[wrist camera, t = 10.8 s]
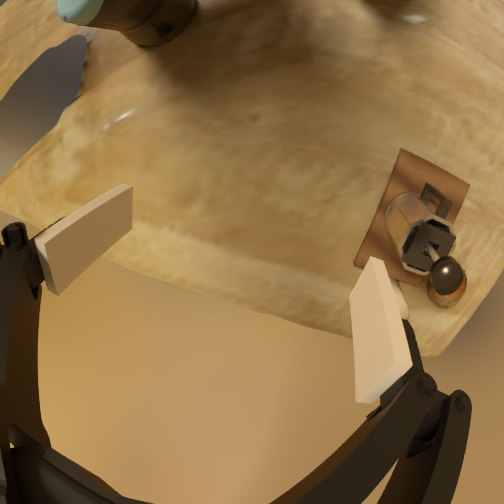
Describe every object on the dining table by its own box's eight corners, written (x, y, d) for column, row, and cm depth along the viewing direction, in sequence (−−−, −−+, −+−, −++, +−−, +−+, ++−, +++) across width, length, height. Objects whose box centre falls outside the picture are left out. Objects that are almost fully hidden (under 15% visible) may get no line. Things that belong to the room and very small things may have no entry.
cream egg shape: (374, 268, 51) (382, 297, 44) (405, 279, 51) (416, 307, 43) (355, 302, 56) (359, 331, 49) (385, 310, 56) (392, 339, 48)
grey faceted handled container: (401, 168, 39) (426, 190, 29) (444, 190, 39) (475, 215, 29) (375, 231, 46) (389, 267, 36) (417, 247, 45) (437, 284, 36)
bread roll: (418, 273, 53) (417, 304, 49) (449, 252, 45) (451, 285, 40) (443, 289, 54) (443, 318, 49) (473, 270, 45) (476, 302, 41)
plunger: (403, 196, 40) (443, 248, 25) (435, 211, 39) (481, 265, 24) (387, 232, 44) (414, 296, 29) (418, 245, 43) (452, 308, 28)
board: (400, 148, 39) (402, 149, 38) (467, 183, 38) (470, 185, 37) (353, 262, 52) (353, 265, 51) (416, 283, 51) (417, 286, 50)
